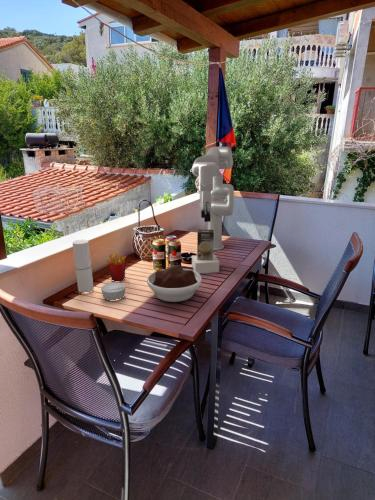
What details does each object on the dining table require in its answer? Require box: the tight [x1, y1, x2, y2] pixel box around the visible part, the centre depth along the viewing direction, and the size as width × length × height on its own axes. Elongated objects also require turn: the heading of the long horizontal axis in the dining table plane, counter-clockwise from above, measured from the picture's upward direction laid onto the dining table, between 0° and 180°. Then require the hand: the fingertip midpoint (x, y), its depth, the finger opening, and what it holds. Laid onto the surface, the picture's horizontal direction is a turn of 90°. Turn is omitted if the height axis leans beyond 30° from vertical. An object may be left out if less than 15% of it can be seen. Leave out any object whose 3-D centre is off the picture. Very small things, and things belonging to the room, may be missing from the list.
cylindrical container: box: [72, 239, 95, 293], centre depth 161 cm, size 7×7×25 cm
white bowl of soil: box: [146, 264, 203, 303], centre depth 156 cm, size 25×25×15 cm
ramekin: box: [100, 281, 127, 300], centre depth 158 cm, size 11×11×5 cm
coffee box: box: [196, 228, 214, 260], centre depth 188 cm, size 9×6×16 cm
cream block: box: [191, 253, 220, 274], centre depth 191 cm, size 13×13×6 cm
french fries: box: [106, 253, 127, 282], centre depth 174 cm, size 9×8×15 cm
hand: (205, 219), depth 184 cm, fingers open, 9 cm apart
